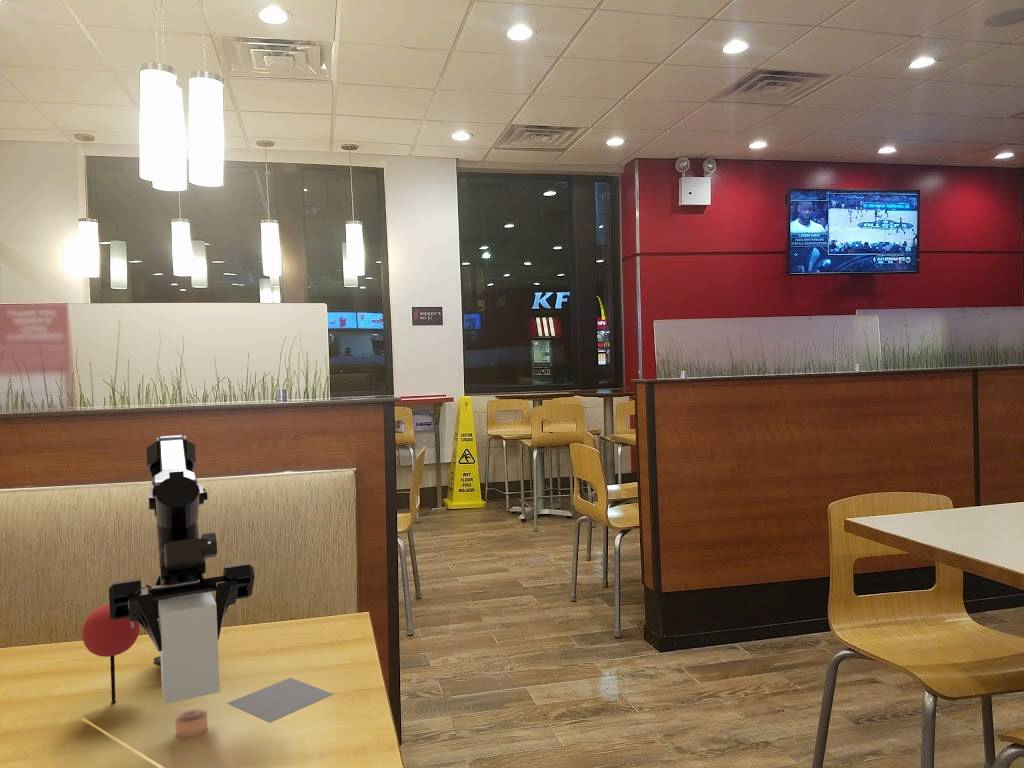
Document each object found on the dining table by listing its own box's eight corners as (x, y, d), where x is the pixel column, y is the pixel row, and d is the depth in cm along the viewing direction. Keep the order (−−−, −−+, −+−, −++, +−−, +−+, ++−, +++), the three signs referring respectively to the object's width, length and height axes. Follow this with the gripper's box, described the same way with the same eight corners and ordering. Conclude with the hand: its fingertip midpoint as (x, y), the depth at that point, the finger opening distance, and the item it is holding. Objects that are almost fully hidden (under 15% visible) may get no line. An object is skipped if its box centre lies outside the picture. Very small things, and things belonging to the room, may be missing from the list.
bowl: (170, 736, 100) (169, 718, 100) (197, 724, 103) (196, 706, 103) (186, 744, 98) (185, 725, 98) (213, 732, 101) (212, 713, 101)
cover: (161, 685, 102) (158, 600, 102) (213, 674, 105) (210, 592, 105) (164, 704, 96) (160, 613, 96) (219, 692, 99) (216, 604, 99)
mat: (227, 705, 109) (227, 702, 109) (290, 680, 117) (290, 677, 117) (269, 725, 102) (269, 722, 102) (333, 696, 111) (333, 693, 111)
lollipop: (84, 718, 106) (79, 616, 106) (87, 698, 113) (83, 602, 113) (142, 705, 110) (138, 606, 110) (142, 687, 117) (138, 594, 117)
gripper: (106, 524, 99) (109, 628, 90) (249, 508, 108) (266, 601, 99) (108, 569, 106) (111, 670, 97) (243, 550, 115) (258, 641, 106)
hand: (189, 644), depth 99 cm, fingers closed on cover, 7 cm apart
